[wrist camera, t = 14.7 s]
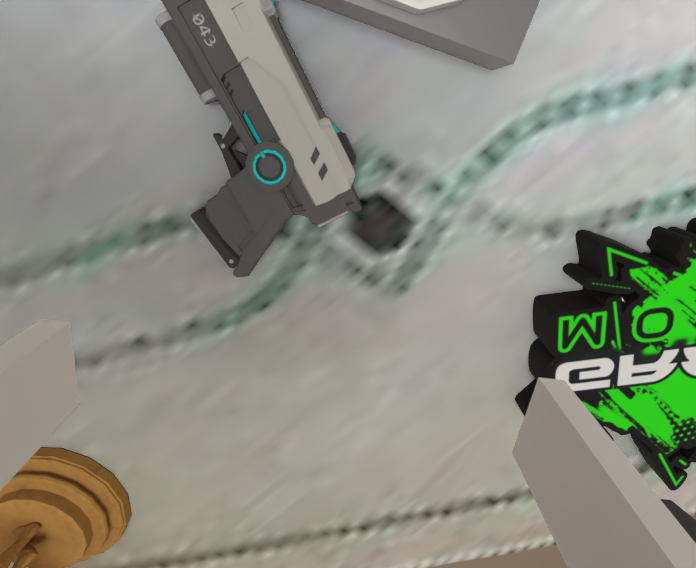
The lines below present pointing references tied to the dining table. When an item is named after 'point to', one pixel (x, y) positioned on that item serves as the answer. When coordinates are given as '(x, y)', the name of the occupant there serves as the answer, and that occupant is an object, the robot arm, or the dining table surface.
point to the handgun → (259, 127)
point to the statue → (60, 511)
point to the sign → (628, 343)
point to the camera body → (449, 24)
